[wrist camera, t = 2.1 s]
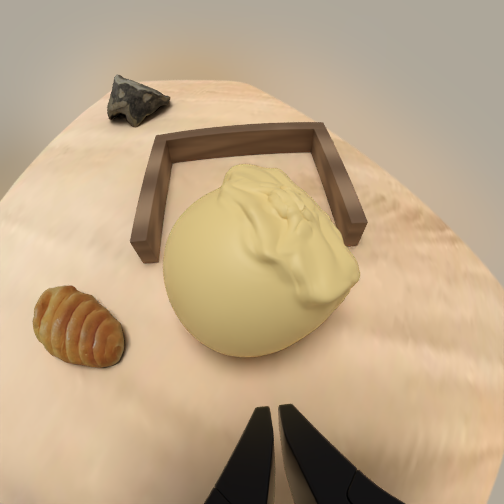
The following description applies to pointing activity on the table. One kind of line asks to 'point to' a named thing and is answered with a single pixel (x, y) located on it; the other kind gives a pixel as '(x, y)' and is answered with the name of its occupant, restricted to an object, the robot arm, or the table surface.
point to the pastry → (77, 328)
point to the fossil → (133, 100)
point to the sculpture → (255, 264)
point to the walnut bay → (237, 144)
